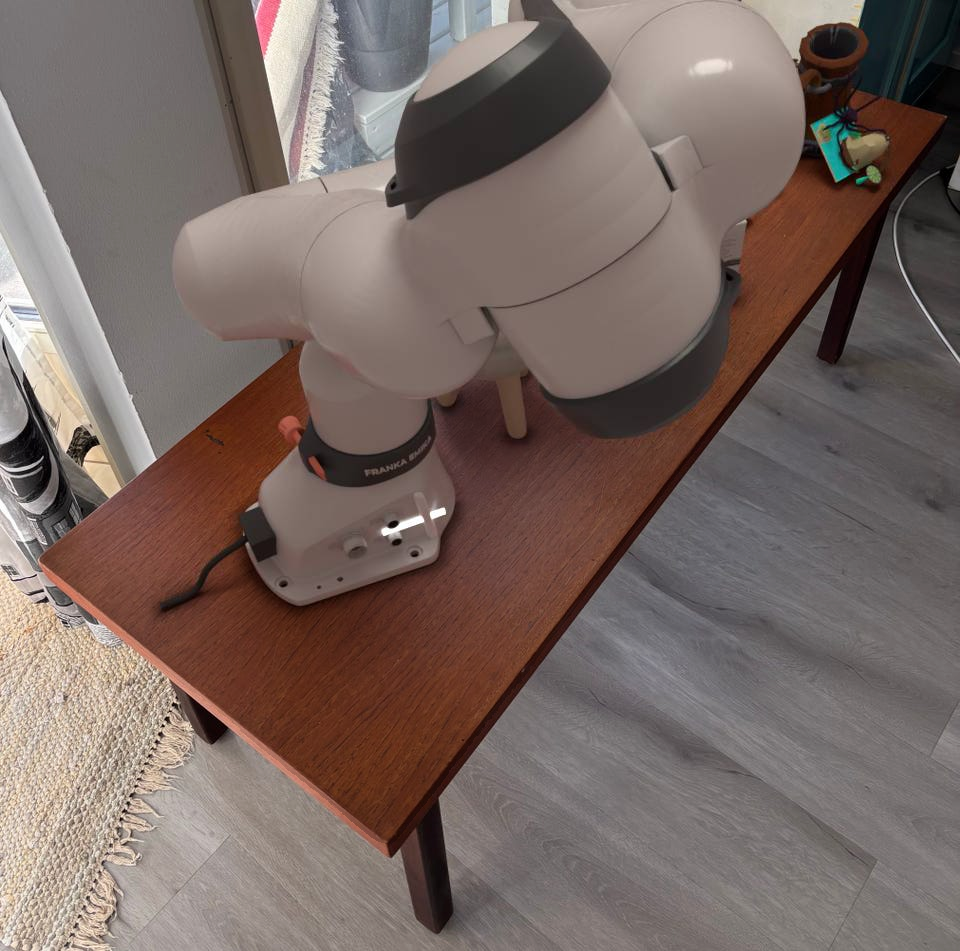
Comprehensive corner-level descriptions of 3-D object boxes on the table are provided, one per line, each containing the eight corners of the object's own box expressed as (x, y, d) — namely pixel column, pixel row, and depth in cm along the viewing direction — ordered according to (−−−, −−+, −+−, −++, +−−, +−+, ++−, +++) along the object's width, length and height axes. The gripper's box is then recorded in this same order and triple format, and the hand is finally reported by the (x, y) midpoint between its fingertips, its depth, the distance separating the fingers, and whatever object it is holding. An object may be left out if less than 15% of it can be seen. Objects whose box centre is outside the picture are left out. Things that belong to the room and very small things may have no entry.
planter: (542, 342, 118) (542, 183, 101) (583, 438, 108) (590, 280, 91) (412, 369, 117) (389, 212, 99) (441, 470, 106) (421, 314, 89)
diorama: (843, 200, 134) (877, 185, 129) (798, 98, 132) (830, 79, 127) (888, 174, 139) (922, 158, 134) (845, 75, 137) (878, 56, 132)
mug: (812, 190, 135) (837, 88, 123) (736, 164, 139) (754, 63, 128) (865, 128, 143) (894, 28, 132) (792, 106, 148) (813, 7, 136)
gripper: (579, 110, 86) (575, 238, 97) (762, 43, 92) (738, 171, 103) (541, 79, 90) (541, 205, 101) (719, 16, 95) (701, 142, 106)
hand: (642, 187), depth 102 cm, fingers closed on fruit, 7 cm apart
